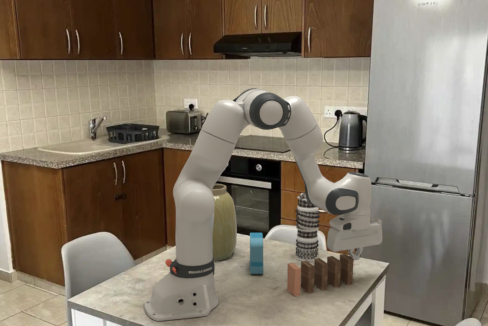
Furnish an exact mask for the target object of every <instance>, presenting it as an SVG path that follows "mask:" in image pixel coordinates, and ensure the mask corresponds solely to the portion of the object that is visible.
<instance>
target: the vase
mask: <svg viewBox="0 0 488 326" xmlns="http://www.w3.org/2000/svg"><path fill="white" fill-rule="evenodd" d="M212 193H213V195H214V199H215V206H214V223H213V233H212V241H213V257H214V262H216V261H222V260H223V261H224V260H226V259H228V258H230V257H232V255H233V253H234V251H235V249H236V246H237V242H238V241H237V239H238V238H237V235H238V232H237V231H238V230H237V229H238V227H237V214H236V206H235V201H234V198H233V197H232V196H231V195H230V193H229V192H228V191H227V185H225V184H222V183H215V185H214V187H213V189H212Z"/></svg>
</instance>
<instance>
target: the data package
mask: <svg viewBox="0 0 488 326" xmlns="http://www.w3.org/2000/svg"><path fill="white" fill-rule="evenodd" d="M249 272H250V273H249V274H250V275H263V274H264V236H263V232H250V233H249Z"/></svg>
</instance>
